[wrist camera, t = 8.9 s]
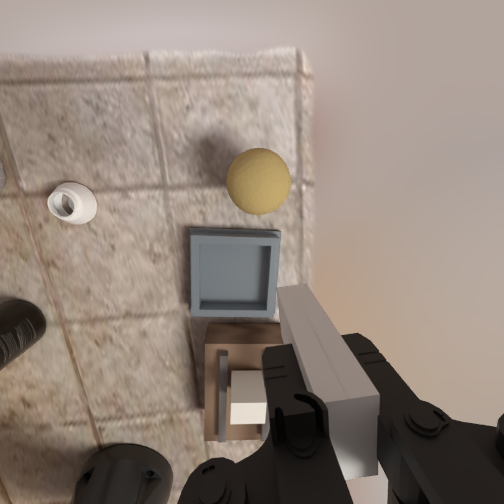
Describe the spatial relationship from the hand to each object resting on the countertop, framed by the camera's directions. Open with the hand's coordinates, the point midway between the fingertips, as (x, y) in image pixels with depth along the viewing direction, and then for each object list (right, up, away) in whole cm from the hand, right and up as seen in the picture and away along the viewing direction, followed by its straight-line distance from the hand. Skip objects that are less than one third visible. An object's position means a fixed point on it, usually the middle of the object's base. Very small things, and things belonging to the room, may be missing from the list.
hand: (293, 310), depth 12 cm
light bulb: (-2, +12, +19) cm, 23 cm away
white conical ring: (-24, +9, +19) cm, 32 cm away
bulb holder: (-5, 0, +22) cm, 22 cm away
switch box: (-3, -15, +26) cm, 31 cm away
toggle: (-3, -14, +20) cm, 25 cm away
